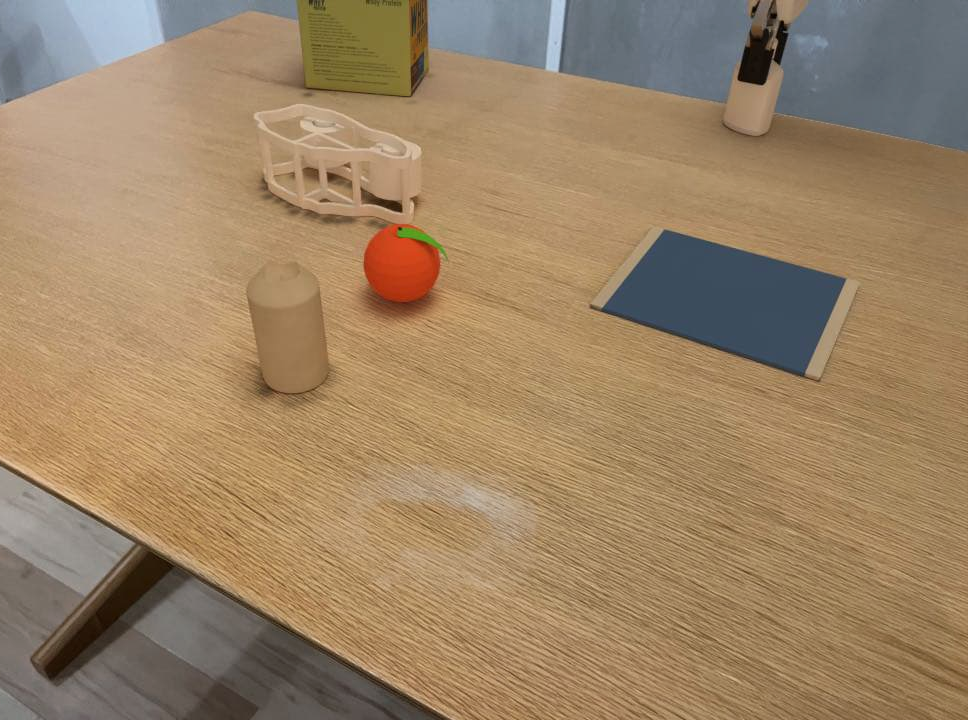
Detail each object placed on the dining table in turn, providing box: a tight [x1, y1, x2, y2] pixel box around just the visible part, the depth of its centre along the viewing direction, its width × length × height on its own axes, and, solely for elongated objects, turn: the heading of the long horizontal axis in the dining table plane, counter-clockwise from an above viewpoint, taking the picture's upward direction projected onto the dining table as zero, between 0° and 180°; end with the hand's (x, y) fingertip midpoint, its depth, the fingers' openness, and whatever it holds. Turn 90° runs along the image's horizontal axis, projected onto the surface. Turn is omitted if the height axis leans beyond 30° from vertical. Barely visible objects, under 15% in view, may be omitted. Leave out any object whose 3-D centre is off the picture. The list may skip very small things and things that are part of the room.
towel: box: [589, 225, 861, 382], centre depth 75 cm, size 20×16×1 cm
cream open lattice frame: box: [253, 103, 423, 225], centre depth 88 cm, size 20×11×7 cm, turn 46°
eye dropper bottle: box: [722, 26, 784, 137], centre depth 98 cm, size 4×6×12 cm
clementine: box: [363, 224, 450, 303], centre depth 74 cm, size 8×7×7 cm
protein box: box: [296, 0, 430, 97], centre depth 111 cm, size 10×15×16 cm
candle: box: [245, 260, 330, 394], centre depth 65 cm, size 6×6×10 cm
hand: (758, 72), depth 97 cm, fingers open, 5 cm apart
